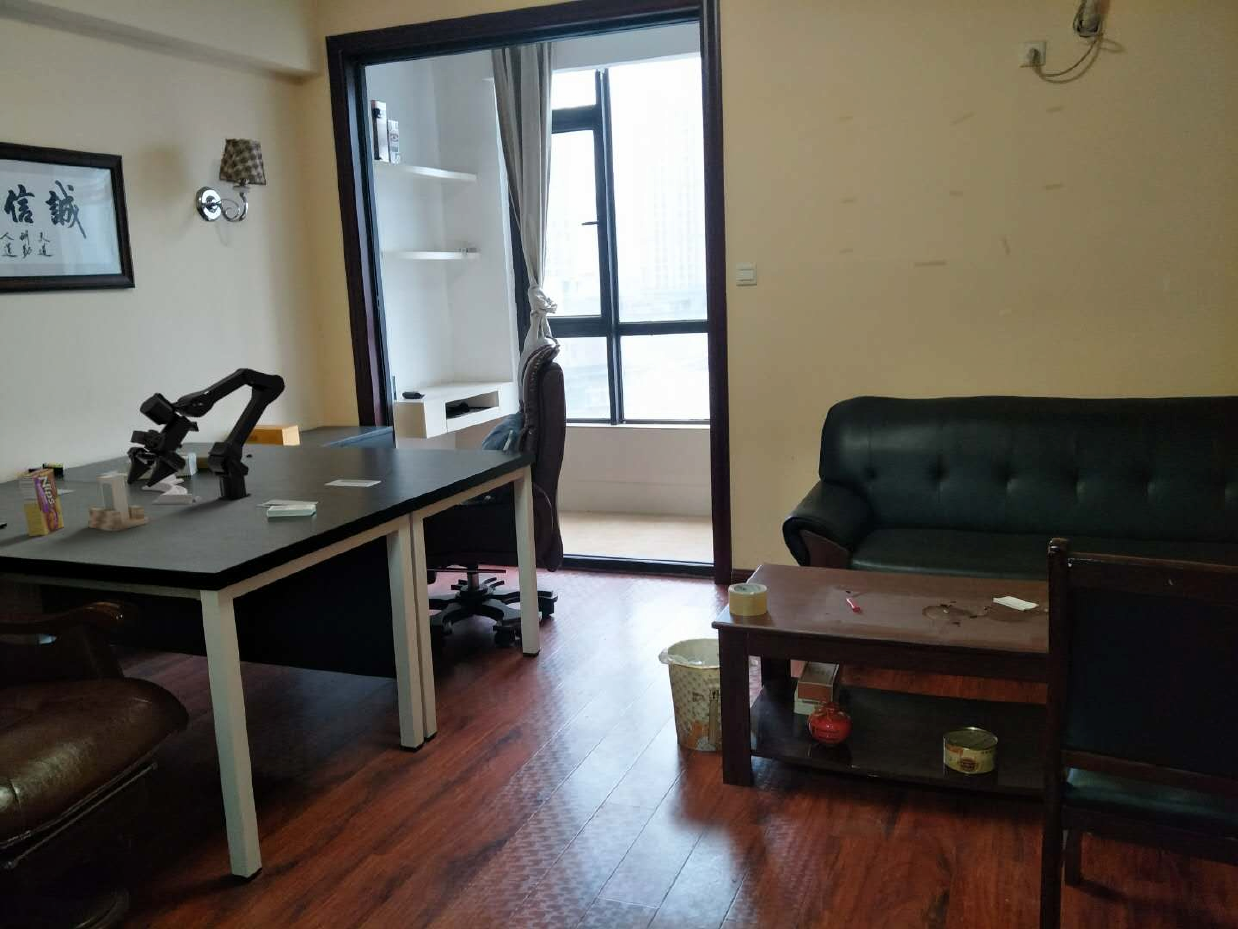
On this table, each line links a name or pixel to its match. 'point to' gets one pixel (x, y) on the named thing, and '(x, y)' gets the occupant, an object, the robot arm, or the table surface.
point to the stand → (116, 518)
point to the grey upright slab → (114, 495)
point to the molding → (172, 492)
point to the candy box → (41, 502)
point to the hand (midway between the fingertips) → (138, 485)
